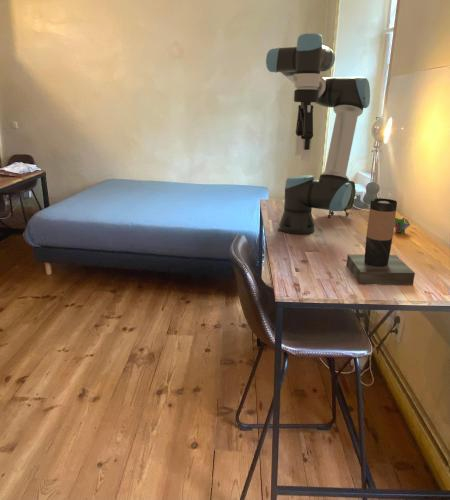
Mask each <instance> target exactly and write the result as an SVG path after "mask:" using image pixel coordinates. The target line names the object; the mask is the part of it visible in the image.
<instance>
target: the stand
mask: <svg viewBox="0 0 450 500" xmlns="http://www.w3.org/2000/svg"><path fill="white" fill-rule="evenodd" d="M364 259H365V254H358V253H357V254H356V253H355V254H347V258H346V267H347V268H348V270H349V271H350V272H351V274H352V275H354V276H353V277H354V279H355V278H356V279H355V280H356V282H357V283H358V285H360V284H361V286H362V285H366V284H381V285H382V286H414V281H415V275H416V273H415V271H414V270H413V269H412V268H410V267H409V265H407V264H406V263H405V262H404V261H403V260H402V259H401V258H400V257H399V256H398V255H397V254H390V255H389V261H388V265H387V266H384V267H375V266H370V265H368V264H366V263H365V262H364ZM381 285H380V286H381Z"/></svg>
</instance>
